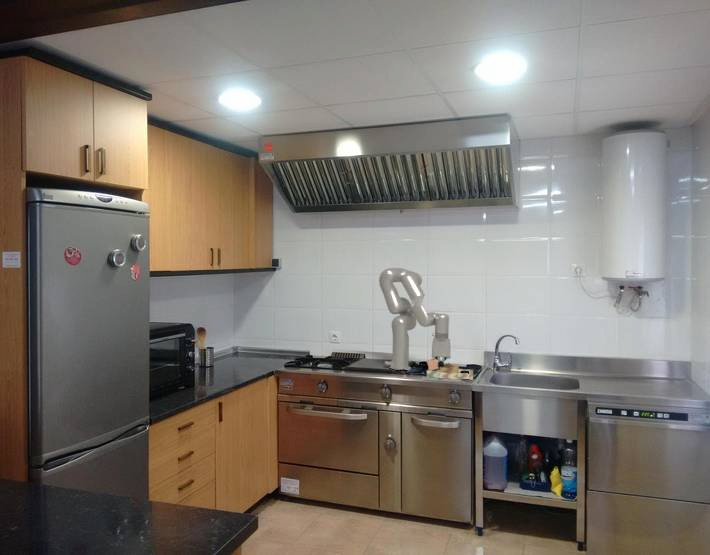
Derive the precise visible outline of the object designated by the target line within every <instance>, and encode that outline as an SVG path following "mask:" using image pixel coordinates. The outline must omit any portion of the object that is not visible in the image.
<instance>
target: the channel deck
mask: <svg viewBox="0 0 710 555" xmlns="http://www.w3.org/2000/svg"><path fill="white" fill-rule="evenodd" d="M459 367H460V366H459V364H450V363H444V367H440V369H439V367H438V369H434V370H431V371H430V369H429V367H428V368H427V371H426V378H431V379H432V378H433V379H434V378H435V379H437V378H438V379H448V380H449V379H450V380H461V379H469V380H468V381H473V380H474V370H473V369H466V368H464V369H463V368H459ZM461 371H469V374H468V373H460V372H461Z"/></svg>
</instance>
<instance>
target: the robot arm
mask: <svg viewBox="0 0 710 555" xmlns="http://www.w3.org/2000/svg"><path fill="white" fill-rule="evenodd" d="M378 282H379V286H380V290H381V292H382V294H383V297H384V300H385V303H386V306H387V309H388V311H389V313H391V314H392V315H398V316H395V317H394V318H393V319H392V320H391V330H392V356H391V357H392V358H391V359H392V360H390V361H388V360H384V365H386V366H389V369H390V368H393V369H394V368H395V369H405V370H408V371H411V369H412V367H411V366H409V358H410V357H409V353H410V352H409V350H410V336H409V332H408V331H411V330H413V329H415V328H416V326H417V323H418V324H419V326H421V327H422V328H423V327H424V328H426V327H433V326H434V333H432V334H431V335H432V337H434V338H433V339H432V345H431V346H432V347H431V359H434V358H435V359H436V362H437V365H438V368H439V369H440V367H444V364H445V363H444V362H445V361H447V360H450V359H451V358H452V356H451V340H450V338H449V329H450V328H449V327H450V323H449V322H450V317H449V314H446V313H438V312H431V311H430V312H426V310H425V308H424V304H423V301H424V298H425V293H424V290H423V289H422V287H421V284H422V282H423V279H422V276H421V275H420V273H418V272H415V271H411V270H410V269H405V268H403V267H389V268H386V269H384V270H383V271H382V272H381V273H380V275H379V279H378ZM394 283H401V284H402V286H403V289H404V290H405V292H406V293H407V296H408V297H409V299H410V300H409V299H408V298H406V297H402V296H401V297H400V295H399V291H398V289H397V288H396V286H395V285H394ZM410 301H411V302H410Z"/></svg>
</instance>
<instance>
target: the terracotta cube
mask: <svg viewBox="0 0 710 555" xmlns="http://www.w3.org/2000/svg"><path fill="white" fill-rule="evenodd" d="M426 363H427V366H428V368H429V369H430V371H431V370H434V369H438V368H439V367H438V361H437V360H436V359H435V358H430V359H427V360H426Z"/></svg>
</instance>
